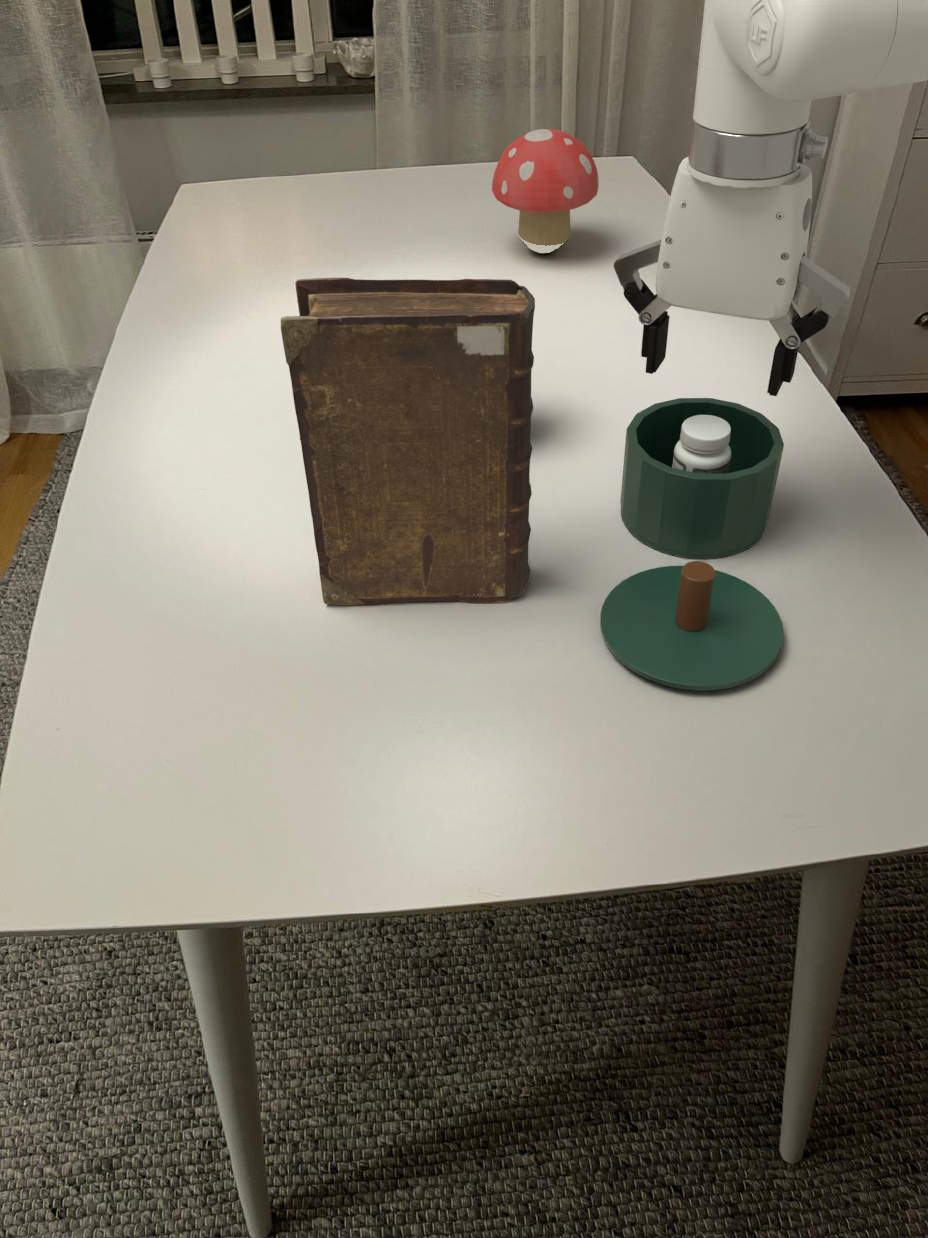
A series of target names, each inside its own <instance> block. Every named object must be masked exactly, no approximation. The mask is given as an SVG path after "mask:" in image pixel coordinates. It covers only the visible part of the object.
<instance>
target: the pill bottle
mask: <svg viewBox="0 0 928 1238" xmlns="http://www.w3.org/2000/svg"><path fill="white" fill-rule="evenodd" d="M730 433H731V427H730V425H729V424H728V422H726V421H725V420H724V419H722V418H719V417H717V416H712V415H696V416H692V417H690V418H688V419H686V420H685V421H684V422H683V424H682V428H681V434H680V440H679V441H678V442H677V444H676V446H675V448H674V456H673V463H672V468H675V469H680V470H684V471H689V472H694V473H698V474H728V471H729V466H730V461H731V449H730V447H729V445H728V444H729V441H730Z"/></svg>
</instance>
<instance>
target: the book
mask: <svg viewBox="0 0 928 1238" xmlns="http://www.w3.org/2000/svg"><path fill="white" fill-rule="evenodd" d="M295 292H296V299H297V300H296V301H297V306H298V314H299V315H289V316H288V315H287V316H281V317H280V332H281V338H282V339H281V340H282V345H283V351H284V357H285V363H286V364H287V365H288V370H289V376H290V381H291V388H292V389H291V390H292V397H293V403H294V411H295V415H296V419H297V427H298V433H299V440H300V447H301V453H302V460H303V467H304V473H305V479H306V485H307V491H308V499H309V508H310V514H311V520H312V527H313V528H312V529H313V535H314V536H313V537H314V543H315V550H316V553H317V560H318V561H317V562H318V567H319V569H318V570H319V581H320V587H321V595H322V600H323V604H325V605H337V606H340V605H341V606H355V605H377V604H384V603H385V604H386V603H387V604H388V603H407V602H437V601H438V602H439V601H441V602H444V601H445V602H446V601H448V602H449V601H451V602H452V601H455V602H467V603H472V604H473V603H476V604H482V603H483V604H486V603H489V604H490V603H491V604H494V603H508V602H510V601H512V599H514V598H518V597H521V596H522V594H523V593H524V592H526V589H527V587H528V585H529V582H530V579H531V567H530V564H529V542H530V538H531V531H532V527H531V524H530V501H531V497H532V494H533V493H532V486H531V481H530V477H531V476H530V474H531V473H530V472H531V471H530V470H531V458H532V453H533V445H532V442H531V433H532V432H531V431H532V428H531V427H532V415H533V410H534V402H533V397H532V370H533V369H532V368H533V367H534V362H535V361H534V360H535V356H534V353H533V330H534V329H533V328H534V317H535V309H536V299H535V297H534V295H533V294H532V293H531V291H530V290H528V288H527V287H526V286H524V285H519V283H517V282H516V281H515V280H513V279H496V278H495V279H492V278H478V279H477V278H462V279H359V278H358V279H357V278H356V279H355V278H352V277H351V278H350V277H315V278H313V277H312V278H299V279H296V281H295Z"/></svg>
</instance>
